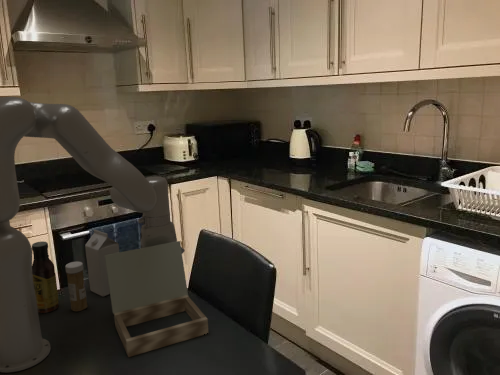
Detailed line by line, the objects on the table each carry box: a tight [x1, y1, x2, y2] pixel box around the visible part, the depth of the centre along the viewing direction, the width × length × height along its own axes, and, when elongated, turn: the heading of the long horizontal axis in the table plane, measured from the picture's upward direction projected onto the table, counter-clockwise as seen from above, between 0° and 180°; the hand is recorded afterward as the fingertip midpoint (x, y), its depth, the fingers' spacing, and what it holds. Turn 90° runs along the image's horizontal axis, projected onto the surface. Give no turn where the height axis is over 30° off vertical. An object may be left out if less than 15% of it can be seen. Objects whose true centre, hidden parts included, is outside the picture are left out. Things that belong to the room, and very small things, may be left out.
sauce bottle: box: [31, 241, 59, 314], centre depth 123 cm, size 6×6×20 cm
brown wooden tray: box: [113, 294, 209, 358], centre depth 112 cm, size 20×15×4 cm
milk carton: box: [84, 229, 120, 297], centre depth 134 cm, size 7×7×19 cm
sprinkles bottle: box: [64, 261, 88, 312], centre depth 124 cm, size 5×5×13 cm
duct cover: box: [104, 240, 189, 315], centre depth 118 cm, size 20×15×1 cm
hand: (161, 277), depth 130 cm, fingers closed on supplement bottle, 5 cm apart
